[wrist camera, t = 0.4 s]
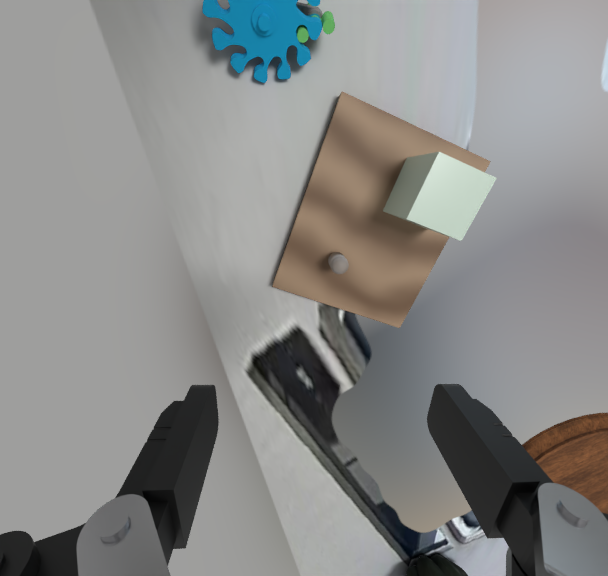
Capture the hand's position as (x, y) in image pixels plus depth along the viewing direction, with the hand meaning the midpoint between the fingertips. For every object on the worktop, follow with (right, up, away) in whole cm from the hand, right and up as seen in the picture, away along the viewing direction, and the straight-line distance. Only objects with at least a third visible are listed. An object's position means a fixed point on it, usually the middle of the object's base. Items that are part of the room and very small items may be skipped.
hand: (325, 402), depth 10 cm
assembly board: (+7, +12, +24) cm, 28 cm away
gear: (-4, +29, +18) cm, 34 cm away
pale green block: (+12, +15, +22) cm, 29 cm away
